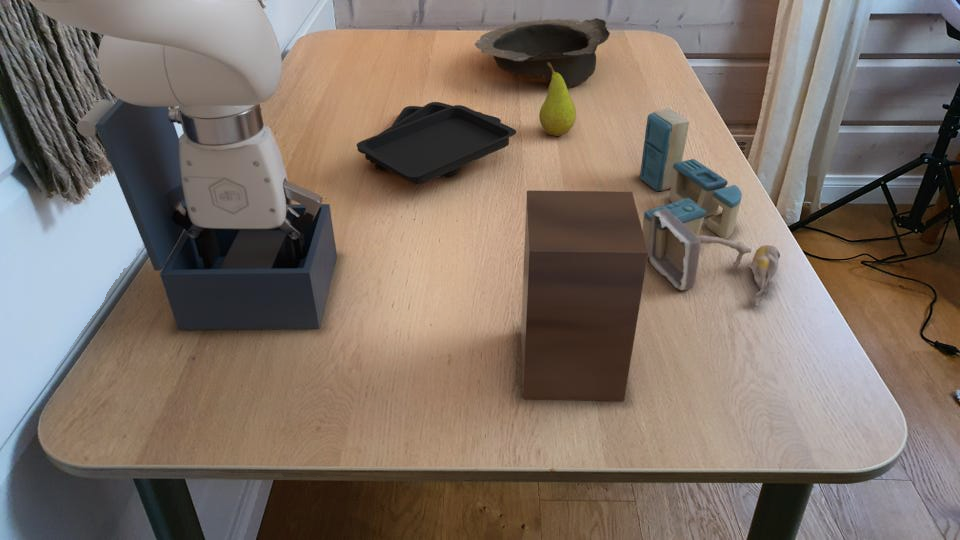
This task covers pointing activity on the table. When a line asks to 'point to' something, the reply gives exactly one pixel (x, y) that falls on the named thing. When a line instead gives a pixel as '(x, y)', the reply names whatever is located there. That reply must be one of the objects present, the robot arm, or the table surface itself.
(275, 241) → the dark grey rectangular block
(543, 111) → the fruit
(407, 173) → the tray
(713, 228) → the toy kitchen set
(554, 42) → the stone bowl
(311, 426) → the table surface
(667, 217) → the decorative sculpture
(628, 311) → the stand
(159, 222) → the box lid
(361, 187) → the table surface
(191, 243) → the storage box
